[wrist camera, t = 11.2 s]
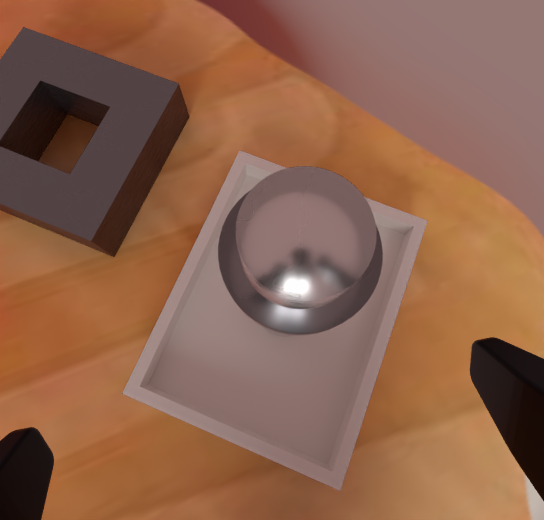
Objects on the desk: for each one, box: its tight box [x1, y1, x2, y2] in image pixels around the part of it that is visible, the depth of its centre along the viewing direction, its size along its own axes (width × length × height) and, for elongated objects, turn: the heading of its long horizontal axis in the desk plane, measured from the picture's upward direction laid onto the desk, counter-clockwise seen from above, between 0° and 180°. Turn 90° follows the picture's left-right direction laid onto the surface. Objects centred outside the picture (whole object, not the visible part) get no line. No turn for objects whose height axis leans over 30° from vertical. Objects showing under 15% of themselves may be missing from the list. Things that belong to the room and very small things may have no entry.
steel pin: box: [218, 166, 383, 337], centre depth 15 cm, size 4×4×12 cm
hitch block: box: [0, 27, 189, 257], centre depth 22 cm, size 10×10×3 cm
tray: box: [122, 151, 427, 491], centre depth 20 cm, size 14×11×2 cm
